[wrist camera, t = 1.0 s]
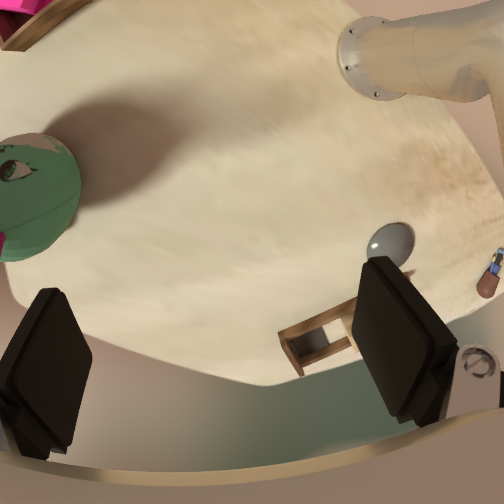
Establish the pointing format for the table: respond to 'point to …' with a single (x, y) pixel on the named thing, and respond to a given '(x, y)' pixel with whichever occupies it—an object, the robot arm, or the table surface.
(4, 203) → the toy
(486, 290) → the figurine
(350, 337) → the block
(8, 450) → the robot arm
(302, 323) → the channel
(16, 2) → the bracket
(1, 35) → the display box
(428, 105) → the table surface
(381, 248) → the coaster
